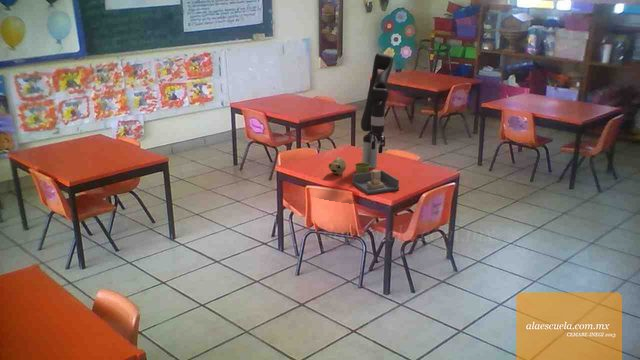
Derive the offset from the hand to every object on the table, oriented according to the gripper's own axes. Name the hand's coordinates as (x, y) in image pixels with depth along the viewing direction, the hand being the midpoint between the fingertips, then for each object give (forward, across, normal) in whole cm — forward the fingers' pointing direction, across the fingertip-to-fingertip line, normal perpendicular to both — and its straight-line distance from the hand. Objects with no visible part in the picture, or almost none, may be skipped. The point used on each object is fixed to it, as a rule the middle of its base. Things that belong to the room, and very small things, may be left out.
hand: (376, 151), depth 343 cm
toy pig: (+22, +30, +11) cm, 39 cm away
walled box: (+22, 0, 0) cm, 22 cm away
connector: (+21, 0, 0) cm, 21 cm away
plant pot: (+22, +17, 0) cm, 28 cm away
